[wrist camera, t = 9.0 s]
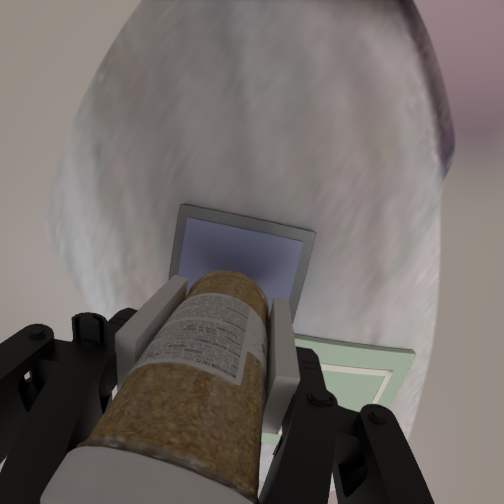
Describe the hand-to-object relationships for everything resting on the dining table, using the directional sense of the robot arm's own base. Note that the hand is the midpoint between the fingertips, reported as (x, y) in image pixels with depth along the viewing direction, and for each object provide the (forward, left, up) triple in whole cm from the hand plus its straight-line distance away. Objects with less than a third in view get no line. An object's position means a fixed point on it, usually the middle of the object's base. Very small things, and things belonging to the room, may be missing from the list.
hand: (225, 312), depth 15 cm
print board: (+11, +11, -8) cm, 17 cm away
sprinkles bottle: (0, 0, -1) cm, 1 cm away
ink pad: (+1, 0, -8) cm, 8 cm away
